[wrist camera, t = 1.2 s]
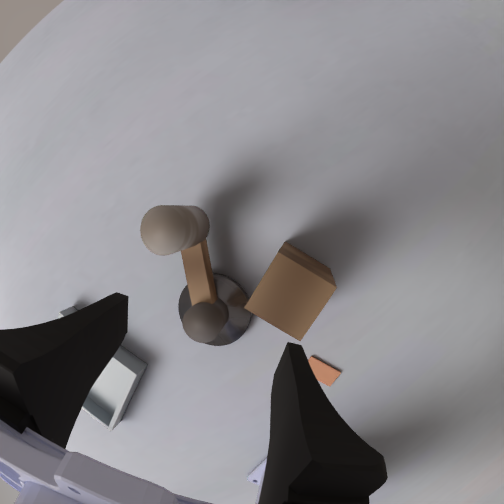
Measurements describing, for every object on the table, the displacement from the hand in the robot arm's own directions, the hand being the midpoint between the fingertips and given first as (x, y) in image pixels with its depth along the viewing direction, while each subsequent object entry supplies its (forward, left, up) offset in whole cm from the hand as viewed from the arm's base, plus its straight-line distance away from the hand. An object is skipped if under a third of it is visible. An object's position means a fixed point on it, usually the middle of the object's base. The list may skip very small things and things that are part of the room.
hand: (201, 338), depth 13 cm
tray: (+9, +18, -12) cm, 23 cm away
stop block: (-3, -2, -12) cm, 13 cm away
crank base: (+1, +4, -12) cm, 13 cm away
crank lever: (+3, +1, -11) cm, 12 cm away
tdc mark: (-9, +4, -12) cm, 15 cm away
